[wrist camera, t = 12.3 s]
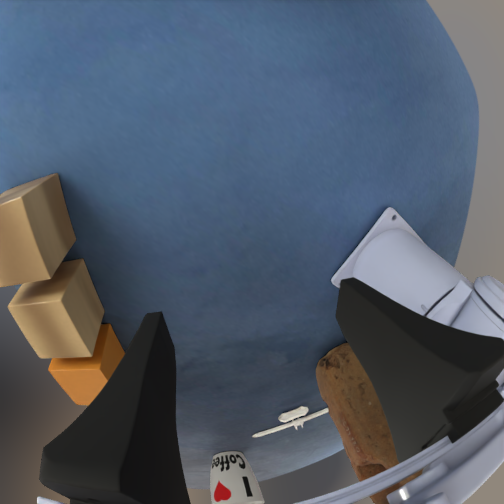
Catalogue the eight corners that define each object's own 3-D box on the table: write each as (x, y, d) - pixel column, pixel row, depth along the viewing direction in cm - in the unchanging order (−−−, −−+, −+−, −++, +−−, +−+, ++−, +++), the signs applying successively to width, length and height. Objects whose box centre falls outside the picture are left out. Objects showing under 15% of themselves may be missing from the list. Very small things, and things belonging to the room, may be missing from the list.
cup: (250, 444, 37) (264, 498, 29) (252, 458, 41) (264, 505, 33) (199, 451, 36) (208, 506, 28) (208, 465, 40) (216, 511, 32)
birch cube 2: (83, 257, 18) (60, 300, 14) (105, 310, 21) (92, 357, 16) (33, 267, 17) (6, 306, 13) (57, 316, 20) (39, 358, 16)
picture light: (252, 435, 36) (255, 447, 34) (242, 425, 33) (245, 438, 31) (342, 401, 36) (348, 413, 34) (340, 389, 33) (346, 401, 32)
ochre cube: (110, 323, 21) (99, 369, 17) (129, 361, 24) (125, 404, 19) (63, 327, 20) (47, 370, 16) (85, 364, 23) (76, 404, 19)
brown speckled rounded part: (400, 319, 29) (496, 454, 12) (382, 361, 32) (454, 482, 15) (315, 342, 27) (402, 523, 10) (306, 383, 31) (367, 532, 14)
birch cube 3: (58, 172, 15) (21, 196, 11) (77, 239, 17) (51, 279, 13) (6, 190, 14) (-32, 217, 10) (26, 250, 17) (-3, 288, 12)
